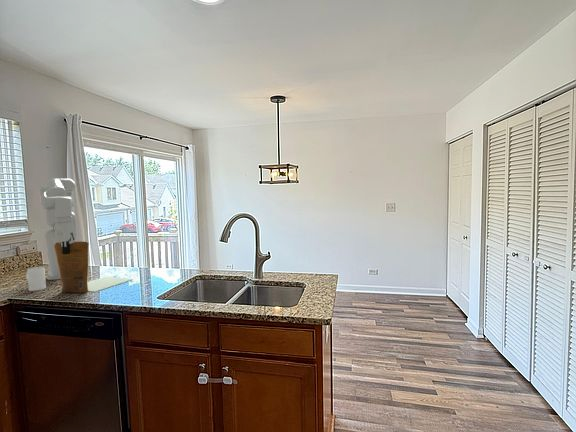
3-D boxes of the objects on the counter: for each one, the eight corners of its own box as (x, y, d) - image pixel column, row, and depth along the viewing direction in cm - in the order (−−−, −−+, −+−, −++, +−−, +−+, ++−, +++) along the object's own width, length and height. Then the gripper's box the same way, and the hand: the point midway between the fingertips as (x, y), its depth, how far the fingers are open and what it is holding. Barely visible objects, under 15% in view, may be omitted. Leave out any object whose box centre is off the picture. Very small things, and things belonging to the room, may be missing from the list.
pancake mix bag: (84, 293, 185) (84, 241, 185) (53, 292, 188) (52, 241, 188) (93, 291, 192) (93, 241, 192) (62, 290, 195) (62, 240, 195)
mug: (20, 289, 197) (19, 269, 196) (36, 285, 205) (34, 265, 204) (35, 291, 193) (33, 270, 192) (50, 287, 201) (48, 267, 200)
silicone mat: (66, 288, 198) (66, 287, 198) (106, 277, 223) (106, 276, 223) (94, 292, 190) (94, 291, 190) (132, 279, 215) (132, 279, 215)
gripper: (47, 220, 184) (50, 254, 185) (67, 221, 178) (69, 256, 180) (61, 219, 191) (63, 252, 192) (80, 219, 185) (82, 253, 187)
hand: (66, 253), depth 186 cm, fingers closed
